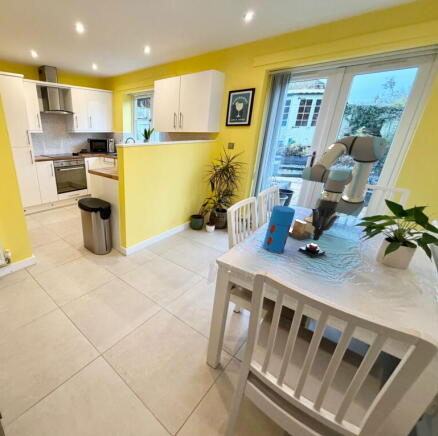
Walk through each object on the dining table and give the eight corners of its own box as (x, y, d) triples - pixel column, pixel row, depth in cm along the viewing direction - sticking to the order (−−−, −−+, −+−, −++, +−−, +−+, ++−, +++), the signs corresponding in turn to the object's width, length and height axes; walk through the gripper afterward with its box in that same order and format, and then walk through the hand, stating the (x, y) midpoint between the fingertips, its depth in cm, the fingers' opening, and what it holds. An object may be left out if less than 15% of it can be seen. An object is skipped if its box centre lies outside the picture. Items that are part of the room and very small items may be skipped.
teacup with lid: (315, 236, 150) (321, 220, 145) (299, 232, 155) (304, 216, 150) (317, 230, 158) (322, 215, 154) (301, 226, 163) (306, 211, 159)
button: (312, 245, 130) (313, 242, 130) (318, 248, 127) (319, 245, 126) (307, 246, 129) (308, 243, 128) (313, 249, 126) (314, 246, 125)
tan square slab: (292, 229, 152) (295, 219, 149) (294, 229, 152) (297, 219, 150) (301, 233, 146) (305, 223, 143) (304, 233, 146) (307, 223, 143)
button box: (310, 248, 135) (312, 242, 133) (324, 255, 128) (326, 248, 126) (298, 250, 131) (300, 244, 130) (311, 258, 124) (314, 251, 123)
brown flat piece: (295, 230, 157) (296, 226, 156) (311, 237, 147) (312, 233, 146) (282, 233, 153) (284, 228, 152) (298, 240, 143) (299, 236, 142)
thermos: (259, 246, 135) (268, 206, 125) (270, 242, 140) (280, 204, 130) (276, 254, 126) (288, 213, 117) (287, 250, 131) (299, 210, 122)
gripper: (312, 196, 121) (300, 235, 130) (338, 204, 110) (323, 246, 119) (322, 195, 124) (309, 233, 133) (348, 202, 113) (332, 244, 122)
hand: (315, 239), depth 126 cm, fingers closed
